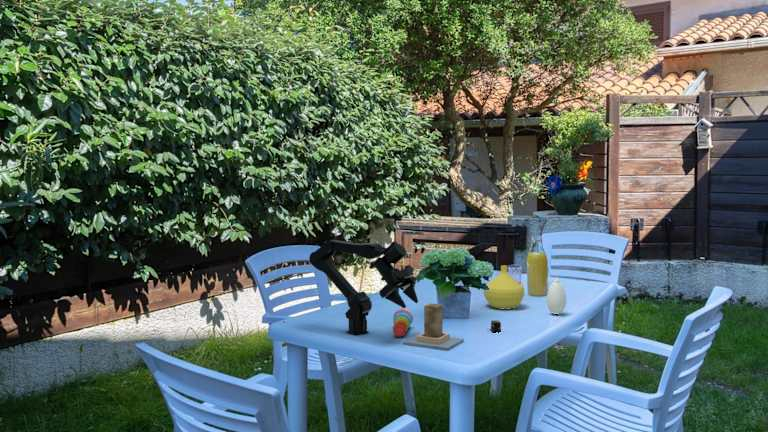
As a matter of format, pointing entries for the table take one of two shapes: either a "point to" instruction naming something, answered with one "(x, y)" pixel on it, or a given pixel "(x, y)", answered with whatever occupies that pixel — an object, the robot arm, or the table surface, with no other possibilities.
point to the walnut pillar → (433, 320)
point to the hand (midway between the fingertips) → (411, 305)
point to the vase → (504, 291)
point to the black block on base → (495, 326)
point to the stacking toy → (402, 321)
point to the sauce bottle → (556, 297)
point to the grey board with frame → (434, 342)
